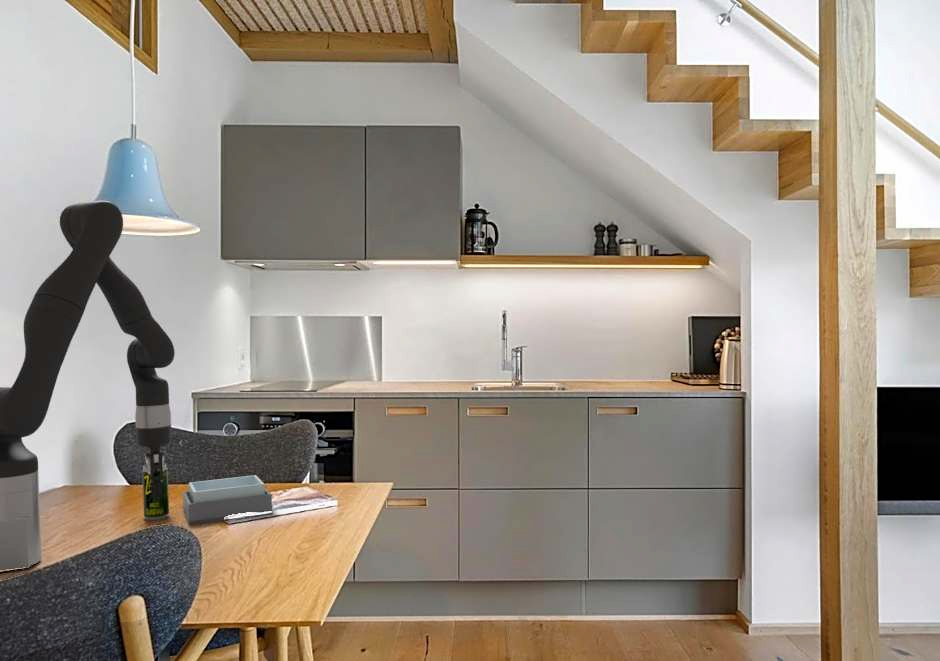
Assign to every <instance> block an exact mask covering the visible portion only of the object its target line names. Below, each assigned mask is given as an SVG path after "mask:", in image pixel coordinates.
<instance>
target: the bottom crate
mask: <svg viewBox="0 0 940 661" xmlns="http://www.w3.org/2000/svg"><path fill="white" fill-rule="evenodd" d="M272 497H273V495H272V493H271V492H270V491H269V490H268V488H266V487H265V495H257V496H249V497H241V498H233V499H225V500H217V501H209V502H201V503H193V504H191V503H190V500H189V490H187V491H182V507H183V508H182V509H183V514H184V516H185V518H186V521H187V524H188V525H189V526H193V525H199V524H205V523H206V524H207V523H213V522H219V521H220V522H221V521H225V520H224V517H225V516H228V515H232V514H238V513H246V512H264V511H272V512H273V500H272V499H273V498H272Z"/></svg>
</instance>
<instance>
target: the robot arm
mask: <svg viewBox="0 0 940 661" xmlns="http://www.w3.org/2000/svg"><path fill="white" fill-rule="evenodd" d="M59 228H60V231H61V232H62V234H63V236H64V238H65V240H66V241H67V243H68V245H69V247H70V248H71V249H72V250H71V252H70V254H69V255H68V256H67V257H66V258H65V259H64V261H62V263H60V265H59V266H58V267H56V268H55V269H54V271H53V272H51V273H50V274H49V275H48V276H47V278H45V280H44V281H43V282H42V283H41V284H40V286H39V287H38V289H37V290H36V292H35V294H34V295H33V298H32V300H31V302H30V304H29V307H28V309H27V310H26V314H25V316H24V320H23V339H24V347H25V348H24V350H25V353H24V359H23V363H22V364H21V365H22V366H21V368H20V369H19V370H20V371H19V372H18V374H17V377H16V379H15V381H14V383H13V384H12V386H11V387H9V386H8V387H7V386H5V387H3V386H2V387H0V570H6V569H15V568H23V567H26V568H28V567H30V566H31V565H33V564H36V563H38V562H39V561H40V562H42V560H41V559H43V558H42V538H41V537H42V536H41V535H42V534H41V512H40V511H41V510H40V488H39V487H40V481H39V479H40V478H39V460H38V456H37V454H35V453H33V452H32V451H31V450H29V449H28V448H27V447H26V445H25V444H24V442H23V438H26V437H29V436H31V435H32V434H34V433H35V432H37V431H38V430H39V428H40V427H41V426H42V425H43V422H44V421H45V418H46V416H47V413H48V410H49V408H50V403H51V400H52V397H53V393H54V390H55V386H56V384H57V383H56V382H57V381H58V380H57V379H58V376H59V374H60V371H61V368H62V365H63V363H64V361H65V358H66V356H67V353H68V351H69V347H70V345H71V343H72V340H73V338H74V336H75V334H76V331H77V329H78V327H79V325H80V323H81V320H82V317H83V316H84V313H85V310H86V307H87V305H88V302H89V301H90V298H91V296H92V293H93V291H94V289H95V287H96V285H97V286H98V287H99V289H100V291H101V292H102V294H103V295H104V298H105V299H106V301H107V304H108V305H109V307H110V309H111V311H112V314H113V316H114V317H115V320H116V321H117V323H118V326H119V327H120V329H121V331H122V332H123V333H124V334H126V335H129V336H132V337H135V339H133V340H132V341H131V342H130V344H129V345H128V347H127V351H126V360H127V365H128V368H129V371H130V375H131V380H132V382H133V384H134V387H135V405H136V406H135V419H134V420H135V421H134V422H135V440H136V441H135V442H136V443H135V444H136V446H137V447H139V448H146V450H147V452H144V458H145V460H144V461H145V463H146V464H145V465H147V469H148V474H150V481H151V491H152V499H160V498H162V481H163V478H164V476H163V472H164V463H165V452H164V451H161V448H162V447H163V446H168V445H171V443H172V414H171V413H172V412H171V408H170V390H169V388H170V387H169V383H168V381H167V380H166V379H164V378H162V377H159V375H158V374H157V372H156V369H163V368H167V367H169V366H170V365H171V364H172V362H173V361H174V359H175V346H174V344H173V342H172V339H171V338H170V336H169V335H168V334H167V333H166V331H165V330H164V329H163V328H162V327H161V325H160V324H159V323H158V321H157V320H155V318H154V317H153V316H152V313H151V311H150V308H149V307H148V304H147V302H146V300H145V298H144V296H143V293H142V292H141V291H140V289H139V288H138V286H137V284H135V283H134V282H133V281H132V279H131V278H130V277H129V276H127V274H125V273H124V272H123V271H122V270H121V268H119V266H117V264H116V263H115V262H114V261H113V260H112V258H111V257H110V256H111V254H112V252H113V251H114V249H115V248H116V246H117V244H118V243H119V242H118V241H119V240H120V238H121V236H122V233H123V228H124V218H123V215H122V211H121V210H120V208H119V207H118V206H117V205H116V204H114V203H113V202H111V201H107V200H93V201H87V202H79V203H73V204H71V205H67V206H65V208H64V209H63V210H62V211H61V213H60V217H59ZM150 467H151V468H150ZM155 473H159V474H160V475H154V476H153V474H155ZM40 562H39V563H40ZM39 563H38V564H39ZM36 565H37V564H36ZM33 566H34V565H33ZM31 567H32V566H31Z"/></svg>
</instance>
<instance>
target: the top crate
mask: <svg viewBox="0 0 940 661" xmlns="http://www.w3.org/2000/svg"><path fill="white" fill-rule="evenodd" d="M265 488H266V487H265V483H264V482H263V481H262V479H260V478H259V477H258V476H257V475H256V474H254V475H245V476H237V477H236V476H235V477H226V478H220V479H218V478H217V479H210V480H209V479H208V480H200V481H191V482H188V491H189V500H190V503H191V504H193V503H201V502H209V501H217V500H225V499H233V498H241V497H249V496H257V495H265Z"/></svg>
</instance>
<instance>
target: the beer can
mask: <svg viewBox="0 0 940 661" xmlns="http://www.w3.org/2000/svg"><path fill="white" fill-rule="evenodd" d="M142 468H143V469H142V472H141V473H142V496H143V498H142V500H143V501H142V502H143V516H144V520H147V521H159V520H163V519H166V518H168V516H169V514H170V502H169V501H170V499H169V498H170V497H169V493H170V492H169V474H168V473H169V471H168V470H169V469H168V467H167V463H166V462H164V472H163V476H164V478H163V481H162V498H160V499H152V491H151V481H150V474H148V469H147V465H146V464H145V465H143V466H142ZM150 468H151V467H150ZM154 475H160V474H159V473H155V474H153V476H154Z"/></svg>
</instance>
